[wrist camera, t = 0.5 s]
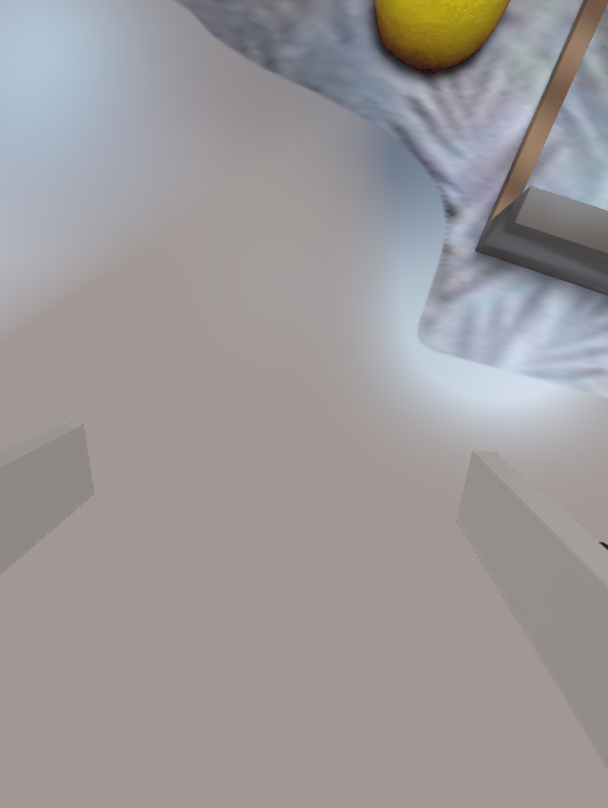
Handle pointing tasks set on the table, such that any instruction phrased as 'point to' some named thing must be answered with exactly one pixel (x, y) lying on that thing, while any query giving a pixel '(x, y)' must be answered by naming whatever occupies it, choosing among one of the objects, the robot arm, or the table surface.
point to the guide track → (544, 211)
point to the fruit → (436, 29)
